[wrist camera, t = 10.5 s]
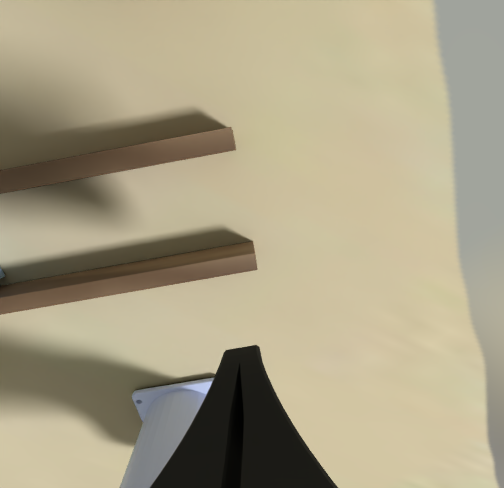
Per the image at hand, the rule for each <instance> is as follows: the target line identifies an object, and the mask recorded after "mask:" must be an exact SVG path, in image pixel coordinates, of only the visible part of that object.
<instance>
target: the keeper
mask: <svg viewBox="0 0 504 488" xmlns="http://www.w3.org/2000/svg"><path fill="white" fill-rule="evenodd" d="M4 276H5V274H4V273H3V271H2V269H1V267H0V278H2V277H4Z"/></svg>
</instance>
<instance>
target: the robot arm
mask: <svg viewBox="0 0 504 488" xmlns="http://www.w3.org/2000/svg"><path fill="white" fill-rule="evenodd" d="M132 399H133V402H134V404H135V406H136V408H137V411H138V413H139V415H140V417H141V420H142V422H143V424H142V427H141V430H140V433H139V436H138V438H137V441H136V444H135V447H134V449H133V452H132V455H131V458H130V460H129V463H128V466H127V469H126V471H125V474H124V477H123V480H122V482H121V485H120V488H338V487H337V486H336V485H335V483H334V482H333V481H332V480H331V478H330V477H329V476H328V474H327V473H326V471H325V470H324V469H323V467H322V466H321V465H320V463H319V462H318V461H317V459H316V458H315V457H314V455H313V454H312V452H311V451H310V450H309V448H308V447H307V445H306V444H305V442H304V441H303V439H302V438H301V436H300V435H299V433H298V431H297V430H296V428H295V427H294V425H293V423H292V422H291V420H290V418H289V417H288V415H287V413H286V412H285V410H284V408H283V406H282V404H281V403H280V401H279V399H278V397H277V395H276V393H275V391H274V389H273V387H272V384H271V382H270V380H269V378H268V376H267V373H266V371H265V368H264V365H263V362H262V358H261V353H260V348H259V347H258V346H257V345H254V346H248V347H242V348H236V349H230V350H226V351H225V352H224V354H223V357H222V360H221V363H220V365H219V368H218V370H217V373H216V375H215V377H214V378H208V379H202V380H196V381H189V382H183V383H177V384H171V385H165V386H159V387H153V388H147V389H141V390H136V391H134V392H133V395H132Z"/></svg>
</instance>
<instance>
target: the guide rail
mask: <svg viewBox="0 0 504 488" xmlns="http://www.w3.org/2000/svg"><path fill="white" fill-rule="evenodd" d="M233 150H236V147H235V141H234V136H233V130H232V128H231V127H228V128H223V129H218V130H212V131H207V132H202V133H196V134H191V135H186V136H180V137H175V138H170V139H164V140H159V141H154V142H148V143H143V144H138V145H132V146H127V147H122V148H116V149H111V150H106V151H100V152H95V153H90V154H84V155H79V156H74V157H68V158H63V159H58V160H52V161H47V162H42V163H36V164H31V165H26V166H20V167H15V168H10V169H4V170H0V194H1V193H6V192H12V191H17V190H23V189H28V188H33V187H39V186H44V185H50V184H55V183H60V182H66V181H71V180H77V179H82V178H87V177H93V176H98V175H104V174H109V173H114V172H120V171H125V170H131V169H136V168H141V167H147V166H152V165H158V164H163V163H168V162H174V161H179V160H185V159H190V158H195V157H201V156H206V155H212V154H217V153H222V152H228V151H233ZM253 270H257V263H256V256H255V250H254V245H253V241H251V242H245V243H240V244H234V245H229V246H223V247H217V248H212V249H206V250H200V251H195V252H189V253H183V254H178V255H172V256H166V257H161V258H155V259H149V260H144V261H138V262H132V263H127V264H121V265H115V266H110V267H104V268H98V269H93V270H87V271H81V272H76V273H70V274H65V275H59V276H53V277H48V278H42V279H36V280H31V281H25V282H19V283H14V284H8V285H2V286H0V315H1V314H6V313H12V312H18V311H24V310H29V309H35V308H41V307H47V306H52V305H58V304H64V303H69V302H75V301H81V300H87V299H92V298H98V297H104V296H110V295H115V294H121V293H127V292H133V291H138V290H144V289H150V288H156V287H161V286H167V285H173V284H179V283H184V282H190V281H196V280H201V279H207V278H213V277H219V276H224V275H230V274H236V273H242V272H247V271H253Z"/></svg>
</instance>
